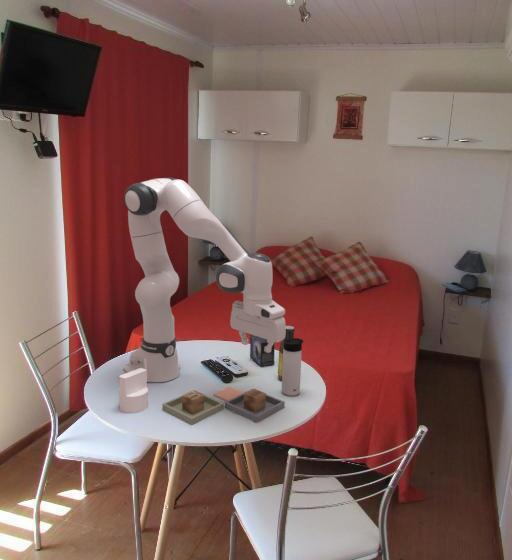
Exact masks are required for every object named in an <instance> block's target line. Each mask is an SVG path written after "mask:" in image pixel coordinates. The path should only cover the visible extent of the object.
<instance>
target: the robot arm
mask: <svg viewBox="0 0 512 560" xmlns="http://www.w3.org/2000/svg"><path fill="white" fill-rule="evenodd" d="M123 201H124V204H125V207H126V208H127V210H128V211H127V217H128V218H127V220H128V221H127V222H128V229H129V235H130V239H131V244H132V249H133V253H134V256H135V257H134V258H135V260H136V261H137V262H138V263H139V265H140V267H141V269H142V271H143V273H144V277H143V278H142V279H141V280H140V281H139V282H138V284H137V286H136V288H135V290H134V292H135V293H134V296H135V300H136V302H137V303H138V305H139V307H140V311H141V314H142V321H143V325H142V326H143V327H142V328H143V337H141V338H140V339H139V342H141V344H140V346H139V347H138V348H137V349H136V350H134V351H133V352H131V354H130V355H129V362H128V363H126V364H125V365H124V366H123V368H122V370H123V371H124V372H125V373H128V372H131V371H133V370H136V369H139V368H143V369H145V370H147V383H163V382H169V381H172V380H175V379H176V378H178V377H179V376H180V370H181V365H180V364H179V360H178V359H179V358H178V349H177V340H176V335H175V334H176V333H175V316H174V315H173V313H172V312H173V311H172V308H171V297H172V296H173V295H174V294H175V293H176V292H177V290H178V288H179V285H180V277H179V275H178V272H176V270H175V268H174V267H173V264H172V262H171V260H170V257H169V254H168V250H167V246H166V242H165V237H164V232H163V229H162V228H163V227H162V225H161V215H162V214H163V212H165V213H169V215H170V217H171V218H172V220H173V222H174V223H175V224H176V226H177V227H178V228H179V230H180V231H182V232H183V234H184V235H186V236H187V237H190V238H194V239H201V240H204V241H209V242H211V243H213V244H215V245H216V246H217V247H218V248H219V249H220V250H221V251H222V253H223V254H224V255H225V256H226V258H227V259H228V260H229V261H228V262H225V263H223V264H221V265H220V266H218V267H217V269H216V272H215V281H216V282H215V283H216V284H217V287H219V289H220V290H221V291H222V292H224V293H228V294H234V293H235V294H237V293H241V294H242V297H243V298H242V300H243V301H241V300H235V301H233V303H232V304H231V305H232V308H231V313H230V320H229V325H230V327H231V329H233V330H236V331H238V334H239V338H240V339H241V344H242V345H244V346H247V345H249V344H250V342H249V341H250V338H248V337H247V334H252V335H255V336H258V337H261V338H264V339H267V343H268V345H267V346H265V347H264V349H265V350H264V351H265V352H267V353H270V352H271V349H272V346H273V344H274V342H275V343H281V341H282V340H284V338H285V335H286V326H287V324H286V323H287V322H286V319H285V317H284V315H286V309H285V308H284V307H283V306H281V305H280V304H278V303H277V302H276V301H275V300H273V294H272V287H273V279H274V277H273V264H272V260H271V259H270V257H269V256H268V255H266V254H263V253H256V252H248V251H247V250H246V248H245V247H244V246H243V245H242V244H241V243H240V241H239V240H238V239H237V238H236V237H235V235H234V234H233V233H232V232H231V231H230V229H229V228H228V227H227V226H225V224H224V223H223V222H222V221H220V219H218V218H217V217H216V216H215V215H214V214H213V213H212V211H211V210H210V208H208V207H207V206H206V204H205V203H204V201H203V200H202V198H200V196H199V195H198V194H197V192H196V191H195V190H194V189H193V188H192V187H191V186H190V185H189V184H188V183H187V182H186V181H184V180H182V179H178V178H174V177H163V178H161V177H160V178H152V179H149V180H145V181H141V182H136V183H133V184H131V185H130V186H128V187H127V188H126V190H125V191H124V195H123Z"/></svg>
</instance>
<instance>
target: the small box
mask: <svg viewBox="0 0 512 560" xmlns="http://www.w3.org/2000/svg"><path fill="white" fill-rule="evenodd" d="M249 341H250V342H249V344H250V345H249V359H250V360H252V361H253V362H254V363H255V364H256V365H257V366H258V367H260V368H264V367H265V368H266V367H270V366H274V365H275V346H276V345H275V344H276V342H274V344H273V346H272V349H271V352H270V353H267V352H265V351H264V350H265V349H264V347H265V346H267V345H268V343H267V339H264V338H261V337H258V336H255V335H252V334H250V336H249Z"/></svg>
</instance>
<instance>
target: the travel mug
mask: <svg viewBox="0 0 512 560" xmlns="http://www.w3.org/2000/svg"><path fill="white" fill-rule="evenodd" d="M303 343H304V339H302V338H297V337H294V338H291V339H287V340H285V341H284V348H283V370H282V380H281V394H282V395H283V396H285V397H290V398H294V397H298V396H299V395H300V391H301V374H302V373H301V371H302V370H301V369H302V353H303V352H302V349H303Z"/></svg>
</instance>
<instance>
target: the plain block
mask: <svg viewBox="0 0 512 560" xmlns="http://www.w3.org/2000/svg"><path fill="white" fill-rule="evenodd" d="M252 389H253V390H251V389H250V390H251V391H249V390H247V391H248V392H247V391H245V392H246V393H245V392H244V408H245V409H248V410H250V411H252V412H255V413H256V412H258V411H260V410H262V409H264V408H266V394H267V393H266V392H263V391H261V390H258V389H256V388H252Z"/></svg>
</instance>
